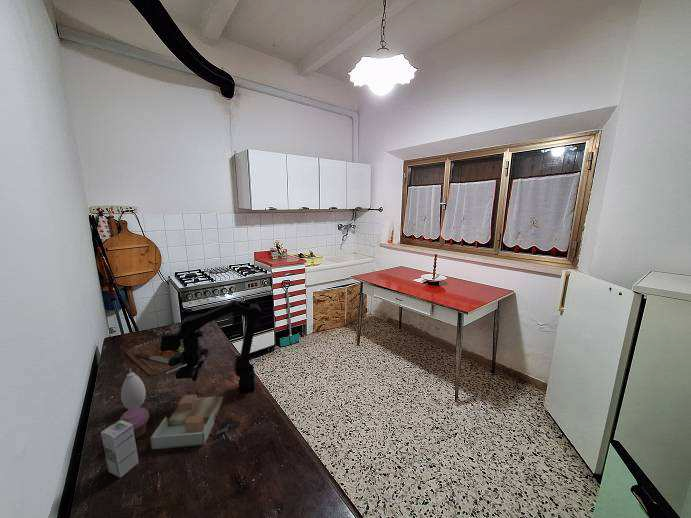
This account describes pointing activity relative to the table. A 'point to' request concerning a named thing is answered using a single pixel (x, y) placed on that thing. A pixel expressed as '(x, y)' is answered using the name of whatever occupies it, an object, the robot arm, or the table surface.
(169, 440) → the tray
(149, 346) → the chopping board
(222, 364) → the table surface
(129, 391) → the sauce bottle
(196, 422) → the tile
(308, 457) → the table surface
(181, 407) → the tile
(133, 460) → the syrup box
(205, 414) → the beige flat panel
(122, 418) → the cupcake
